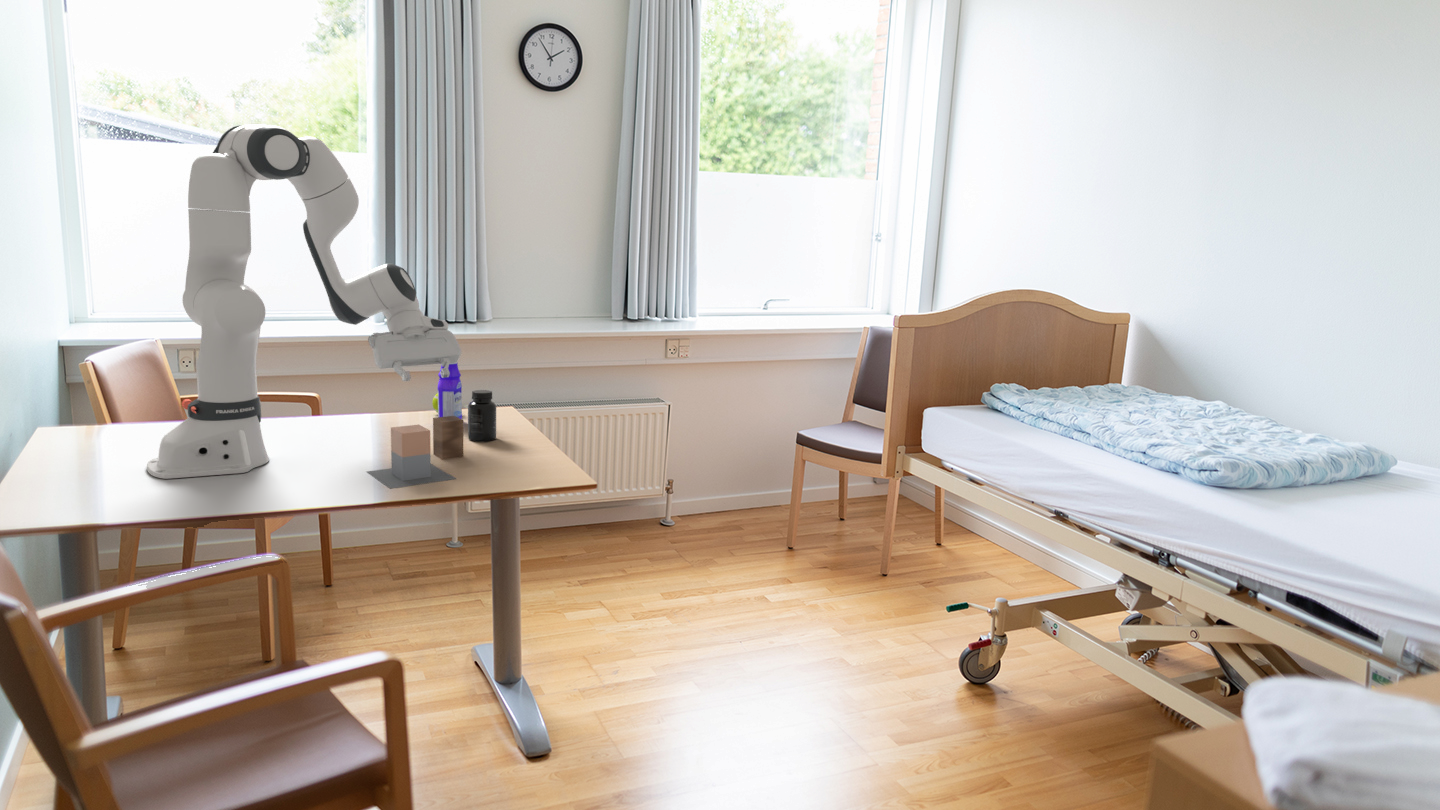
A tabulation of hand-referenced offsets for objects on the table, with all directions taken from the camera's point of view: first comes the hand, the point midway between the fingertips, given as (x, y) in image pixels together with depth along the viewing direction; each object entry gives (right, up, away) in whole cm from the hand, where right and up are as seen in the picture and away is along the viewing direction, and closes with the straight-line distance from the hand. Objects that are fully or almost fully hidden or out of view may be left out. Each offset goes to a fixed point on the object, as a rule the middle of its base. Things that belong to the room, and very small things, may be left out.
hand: (426, 377), depth 215 cm
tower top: (+4, -16, -24) cm, 29 cm away
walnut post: (+7, -18, -6) cm, 20 cm away
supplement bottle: (+10, -15, +12) cm, 21 cm away
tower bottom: (+4, -21, -23) cm, 31 cm away
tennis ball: (-6, -9, +35) cm, 37 cm away
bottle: (-2, -11, +26) cm, 28 cm away
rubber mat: (+4, -22, -23) cm, 31 cm away
